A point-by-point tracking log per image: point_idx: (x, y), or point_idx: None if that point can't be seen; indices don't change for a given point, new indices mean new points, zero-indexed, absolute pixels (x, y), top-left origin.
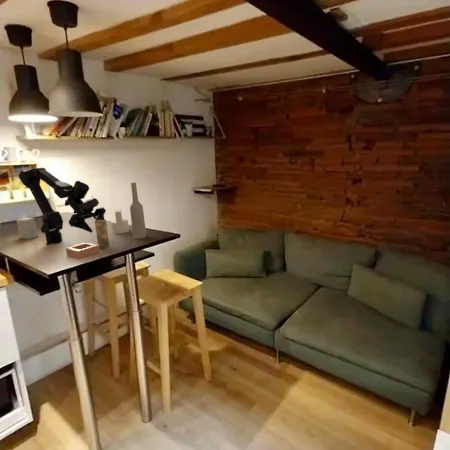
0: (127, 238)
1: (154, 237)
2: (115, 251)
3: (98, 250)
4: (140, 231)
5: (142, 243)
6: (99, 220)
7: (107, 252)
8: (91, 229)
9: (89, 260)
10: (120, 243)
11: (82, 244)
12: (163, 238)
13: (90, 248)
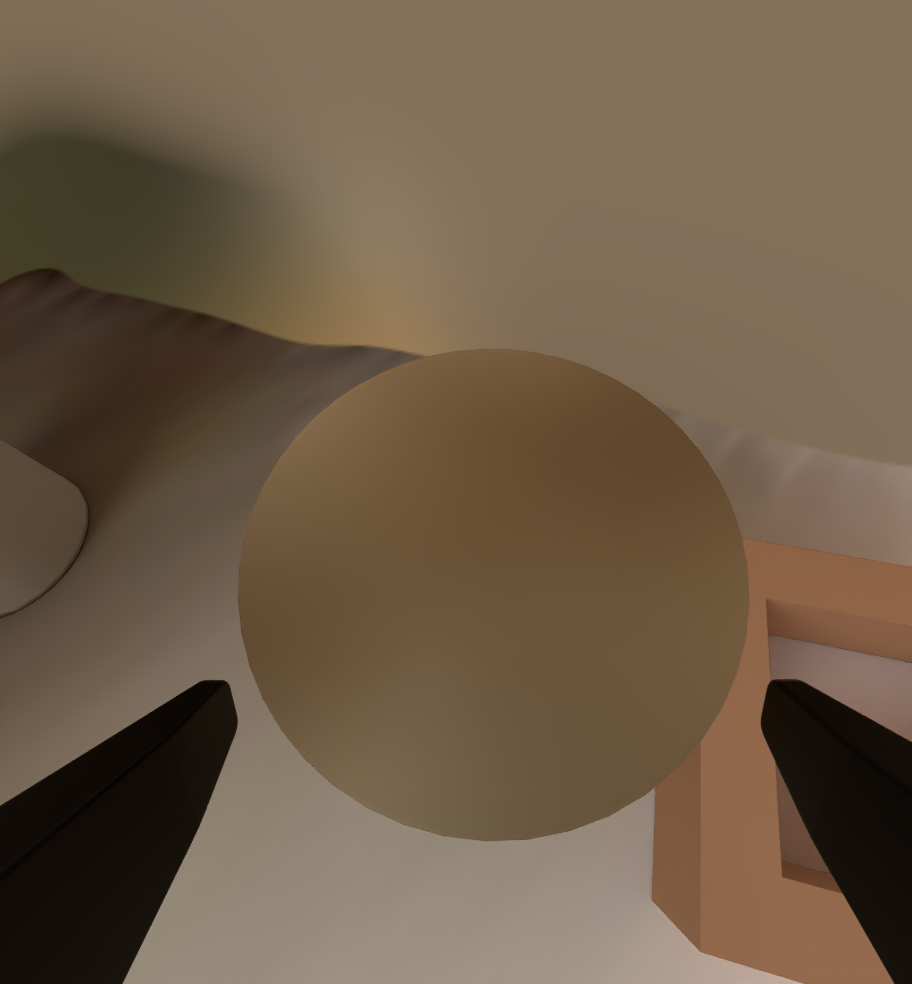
0: (55, 664)
1: (61, 386)
2: None
3: None
4: (4, 443)
5: (270, 367)
6: (445, 623)
7: None
8: (815, 703)
9: (895, 470)
10: None
11: (840, 891)
12: (110, 302)
13: (839, 560)
